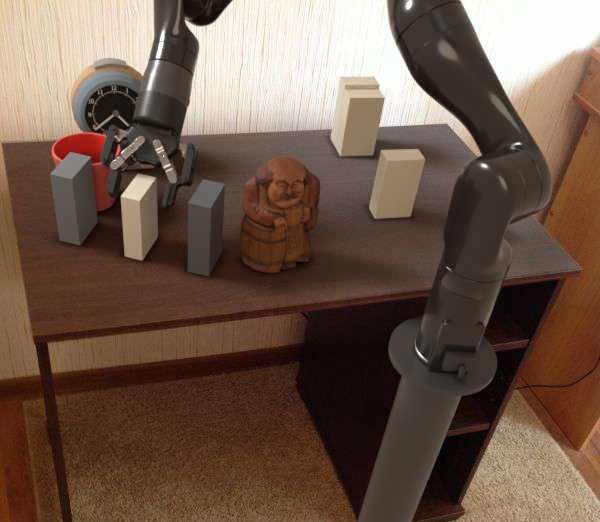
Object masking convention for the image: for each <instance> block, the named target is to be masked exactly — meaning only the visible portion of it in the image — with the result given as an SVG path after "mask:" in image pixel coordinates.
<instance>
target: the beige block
mask: <svg viewBox="0 0 600 522" xmlns="http://www.w3.org/2000/svg"><path fill="white" fill-rule="evenodd" d="M157 185H158V183H157V177H155V176H152V175H147V174H142V173H137V174H136V175H135V176H134V178H133V180H131V182H130V183H129V185H127V186H126V187H127V188H125V190H124V191H123V193H122V194H121V195H120V207H121V222H122V235H123V250H124V257H126V258H128V259H129V258H130V259H133V260H138V261H141V262H142V261H144V259H145V258H146V257H147V255H148V253H149V251H151V249H152V247H153V245H154V244H155V242H156V241H157V239H158V238H159V223H158V220H159V219H158V187H157Z"/></svg>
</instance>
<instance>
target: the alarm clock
mask: <svg viewBox="0 0 600 522" xmlns="http://www.w3.org/2000/svg"><path fill="white" fill-rule="evenodd" d="M92 63H93V64H91V65H88V67H87V68H85V69H84V70H83V71H81V73H80V74H79V75H78V77H77V78H76V79H75V81H74V82H73V84H72V88H71V90H70V100H69V101H70V102H69V103H70V107H71V111H72V115H73V120H74V121H75V123H76V125H77V127H78V128H79V130H80V131H81V133H98V134H103V135H106V136H107V133H108V130H109V127H110V126H111V125H115V126H116V127H117V128H118V129H121V130H125V131H128V130H129V129H130V128H131V126H132V120H133V116H134V112H135V107H136V103H137V99H138V95H139V91H140V86H141V82H142V78H143V74H141V73H140V71H138V70H137V69H135V68H134V67H132V66H131V65H129V64H127V61H126V60H124V59H120V58H114V57H106V58H100V59H97V60H93V62H92ZM119 145H120V147H121V152H122V151H124V150H125V149H126V148H127V147H128V146H129V144H128V142H127V139H124V140H123V142H122V143H121V144H119ZM155 168H156V167H154V166H152V165H144V164H140V163H139V162H138V161H137V162H136V163H135V164H134V165H132V166H129V167H128V168H127V169H126V170H125V171H128V170H129V171H130V170H142V169H143V170H145V169H155Z"/></svg>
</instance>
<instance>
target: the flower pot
mask: <svg viewBox="0 0 600 522" xmlns="http://www.w3.org/2000/svg"><path fill="white" fill-rule="evenodd" d="M106 137H107V136H106V135H103V134H98V133H83V132H77V133H76V132H75V133H72V134H68V135H67V134H66V135H65V136H63V137H60V138H59V139H58V140H56V141H55V142H54V143H53V145H52V147H51V155H52V158H53V162H54V164H55V168H56V167H57V166H58V165H59V164H60V163H61V162H62V160H63V159H64V158H65V157H66V156H67V155H68V154H69V153H70V152H73V153H77V154H81V155H86V156H90V157H92V167H93V178H94V188H95V199H96V209H97V212H101V211H105V210H107V209H109V208H111V207H112V206H113V205H114V203H115V201H116V198H113V197H111V196H110V195H109V192H108V191H107V189H106V186H107V181H108V177H109V173H110V169H109V168H108V167H106V166H105V165H104V164H103V163H102V162H101V161H100V156H101V153H102V150H103V147H104V143H105V140H106ZM120 153H121V147H120V145H118V148H117V152H116V155H115V158H114V160H115V159H116V158H118V157H119V156H120Z"/></svg>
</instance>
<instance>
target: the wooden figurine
mask: <svg viewBox="0 0 600 522" xmlns="http://www.w3.org/2000/svg"><path fill="white" fill-rule="evenodd" d="M320 194H321V181H320V178H319V177H318V176H317V175H316V174H315V173H313V172H311V171H310V170H308V168H307V167H306V165H305V164H304V163H303V162H302V161H301V160H298V159H297V158H295V157H292V156H285V155H284V156H283V155H282V156H277V157H274V158H271V159H269V160H267V161H265V162H264V163H263V164H262V165H260V166H259V167H258V168H257V170H256V171H255V172H254V176H253V177H251V178H250V179H249V180H248V181H246V183H245V184H244V188H243V195H242V202H241V207H242V210H243V212H244V215H243V218H242V220H241V226H240V234H239V235H240V237H239V244H240V254H241V260H242V262H243V263H244V264H245V265H246V266H247V267H250V268H251V269H253V270H255V271H259V272H261V273H265V274H266V273H267V274H277V273H279V272H280V271H281V270H289V269H295V268H296V267H297V265H298V263H302V262H303V263H308V262H309V260H310V255H311V254H310V252H311V250H310V249H311V232H312V231H313V230H314V229H315V227H316V225H317V223H318V218H319V212H320V211H319V208H318V207H319V203H320Z"/></svg>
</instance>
